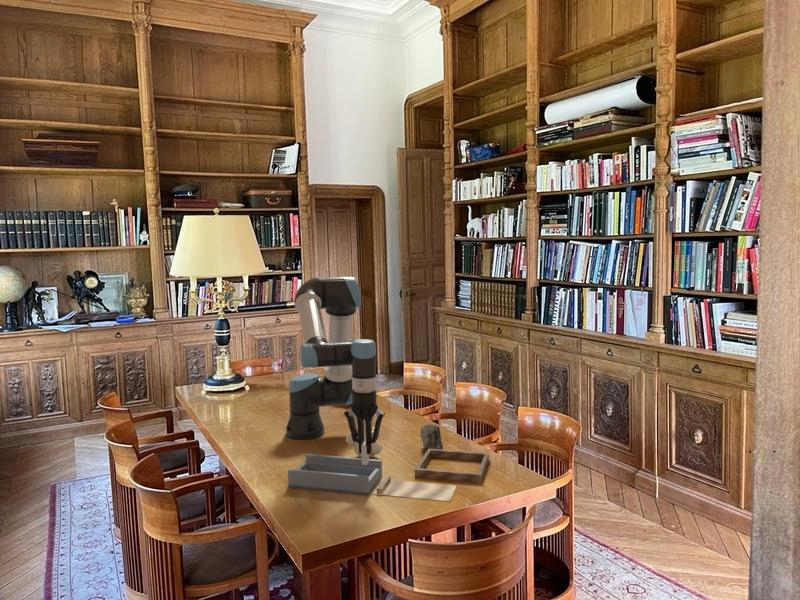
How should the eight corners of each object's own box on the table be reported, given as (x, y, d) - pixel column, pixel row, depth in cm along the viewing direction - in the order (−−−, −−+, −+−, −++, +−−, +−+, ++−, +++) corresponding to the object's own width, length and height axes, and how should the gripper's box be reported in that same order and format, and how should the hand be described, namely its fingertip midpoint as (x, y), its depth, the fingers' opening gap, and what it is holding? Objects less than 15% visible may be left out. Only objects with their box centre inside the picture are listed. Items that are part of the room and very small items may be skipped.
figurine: (355, 464, 212) (354, 407, 210) (342, 456, 219) (341, 401, 218) (388, 456, 219) (388, 401, 217) (375, 449, 227) (374, 396, 225)
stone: (446, 421, 225) (419, 419, 229) (440, 445, 219) (413, 442, 222) (449, 436, 232) (424, 433, 235) (444, 459, 226) (418, 456, 229)
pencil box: (288, 487, 193) (287, 470, 192) (307, 470, 207) (307, 453, 207) (367, 495, 186) (367, 477, 186) (382, 476, 201) (381, 460, 200)
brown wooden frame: (414, 476, 200) (414, 469, 200) (428, 455, 220) (428, 448, 219) (480, 482, 195) (480, 475, 194) (488, 460, 214) (488, 453, 214)
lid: (369, 495, 187) (369, 488, 187) (380, 481, 198) (380, 474, 198) (450, 503, 181) (449, 496, 181) (456, 488, 192) (456, 481, 192)
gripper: (340, 391, 189) (341, 466, 192) (380, 394, 186) (381, 469, 189) (348, 385, 197) (349, 457, 199) (387, 388, 193) (388, 460, 196)
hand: (365, 463), depth 194 cm, fingers closed
